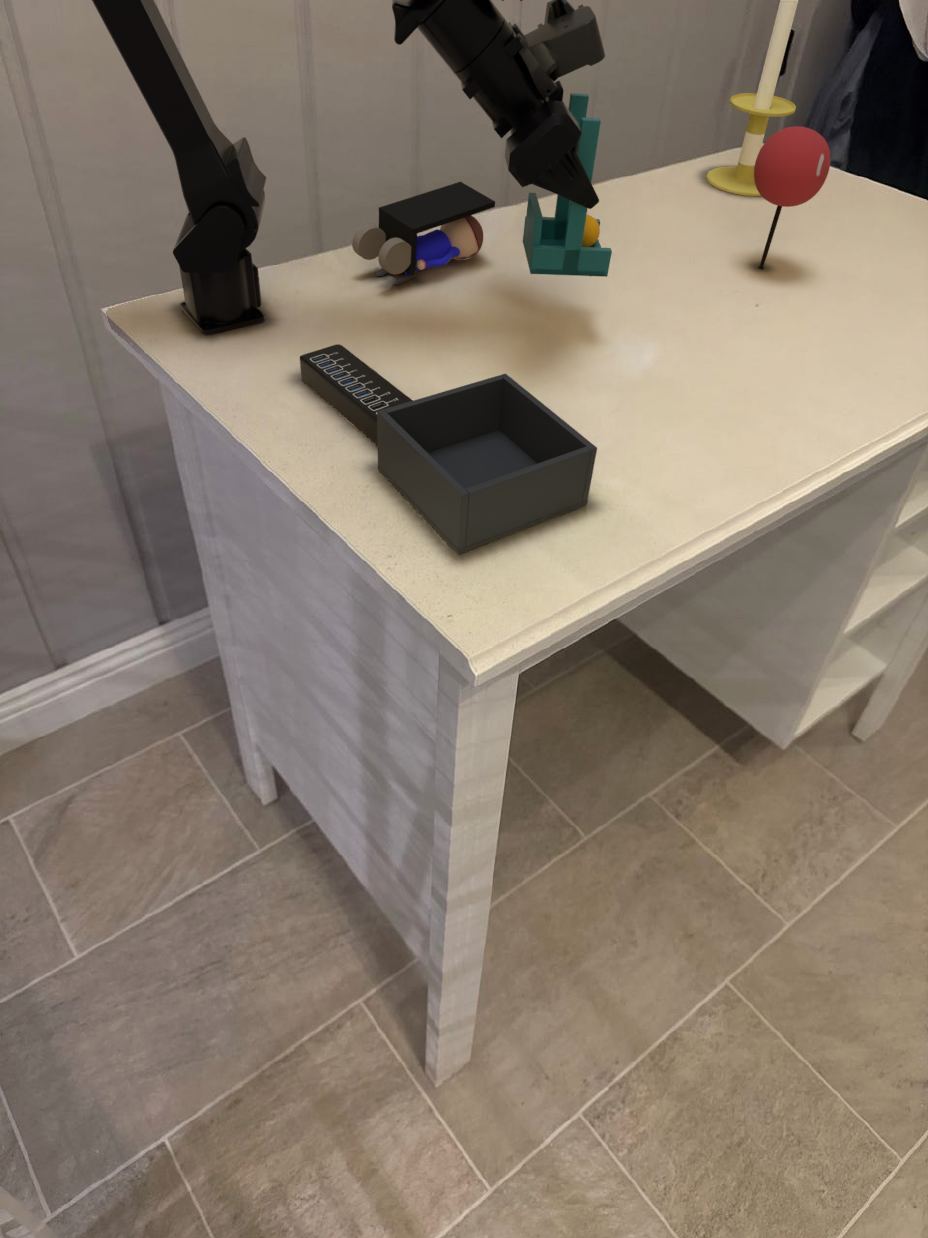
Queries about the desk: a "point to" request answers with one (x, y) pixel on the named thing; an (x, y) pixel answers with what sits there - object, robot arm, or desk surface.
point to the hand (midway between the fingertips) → (588, 188)
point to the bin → (484, 461)
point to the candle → (759, 110)
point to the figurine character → (419, 214)
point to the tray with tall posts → (567, 217)
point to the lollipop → (790, 170)
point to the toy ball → (590, 231)
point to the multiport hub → (350, 386)
